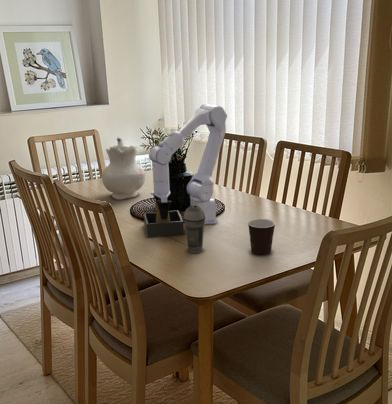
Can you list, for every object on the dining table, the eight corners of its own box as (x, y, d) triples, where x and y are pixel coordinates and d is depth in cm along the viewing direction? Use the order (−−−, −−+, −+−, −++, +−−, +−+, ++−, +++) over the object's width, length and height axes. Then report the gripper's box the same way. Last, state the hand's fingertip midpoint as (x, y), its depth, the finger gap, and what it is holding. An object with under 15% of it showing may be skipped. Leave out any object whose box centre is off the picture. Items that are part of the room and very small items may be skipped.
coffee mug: (267, 258, 175) (268, 229, 172) (243, 253, 179) (243, 225, 176) (282, 247, 184) (283, 218, 181) (259, 242, 189) (259, 215, 185)
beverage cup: (190, 256, 179) (188, 197, 172) (180, 249, 185) (178, 192, 178) (210, 252, 182) (209, 194, 175) (199, 245, 188) (198, 188, 181)
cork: (169, 231, 200) (168, 202, 196) (153, 230, 201) (151, 202, 197) (173, 226, 205) (172, 198, 201) (157, 225, 206) (156, 197, 202)
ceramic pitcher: (98, 194, 255) (89, 141, 245) (138, 185, 262) (130, 133, 252) (112, 206, 236) (103, 150, 227) (154, 196, 243) (146, 141, 234)
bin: (178, 222, 210) (178, 210, 209) (183, 234, 198) (183, 221, 196) (144, 225, 208) (143, 213, 206) (147, 237, 196) (146, 224, 194)
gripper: (148, 175, 203) (150, 210, 207) (152, 185, 189) (154, 222, 194) (167, 174, 204) (168, 209, 208) (172, 184, 190) (173, 221, 195)
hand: (163, 215), depth 201 cm, fingers open, 7 cm apart
